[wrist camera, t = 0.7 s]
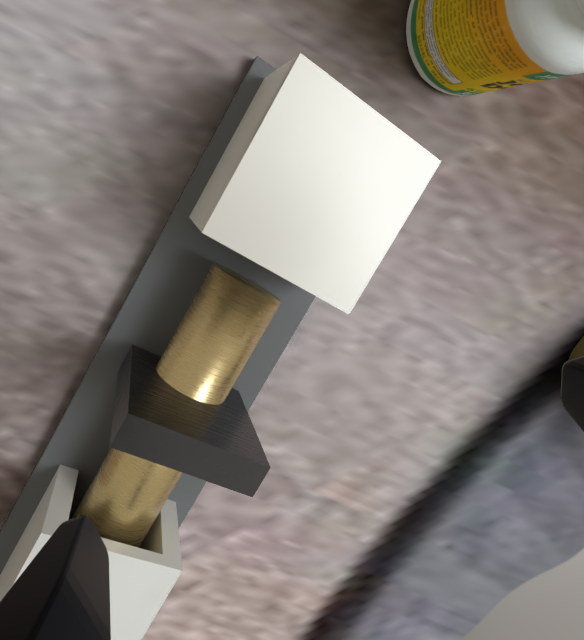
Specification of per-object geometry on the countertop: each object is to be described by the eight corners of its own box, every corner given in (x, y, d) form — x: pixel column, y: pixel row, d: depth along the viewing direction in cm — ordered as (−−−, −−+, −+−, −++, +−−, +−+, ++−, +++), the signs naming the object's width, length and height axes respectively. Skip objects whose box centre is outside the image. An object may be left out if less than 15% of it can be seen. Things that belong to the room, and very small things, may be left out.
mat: (116, 624, 25) (116, 634, 25) (-33, 592, 23) (-37, 603, 22) (390, 158, 22) (396, 158, 22) (254, 58, 19) (257, 56, 19)
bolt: (110, 611, 24) (99, 749, 18) (0, 586, 22) (-50, 732, 16) (291, 301, 22) (341, 349, 16) (186, 245, 20) (203, 277, 14)
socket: (307, 284, 22) (349, 314, 18) (189, 216, 20) (201, 232, 15) (379, 161, 21) (441, 161, 17) (264, 77, 19) (300, 52, 15)
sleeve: (103, 625, 24) (96, 714, 20) (-14, 600, 22) (-48, 695, 18) (175, 502, 23) (182, 570, 19) (60, 464, 21) (41, 532, 17)
